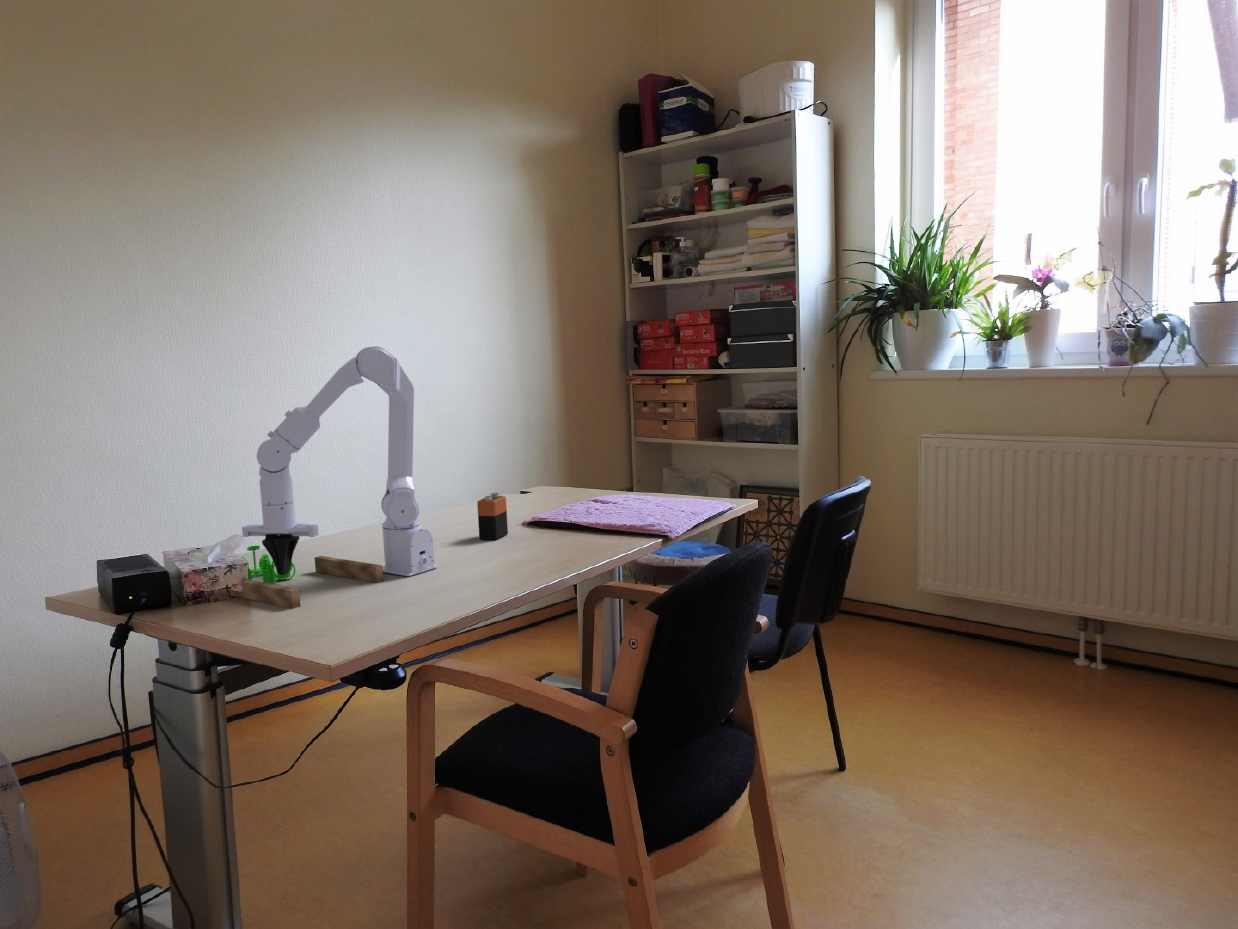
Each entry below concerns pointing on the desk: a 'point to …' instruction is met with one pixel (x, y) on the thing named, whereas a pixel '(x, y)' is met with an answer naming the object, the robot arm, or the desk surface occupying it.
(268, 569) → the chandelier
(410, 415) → the robot arm
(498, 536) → the battery
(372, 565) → the pair of wooden bars
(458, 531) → the desk surface
